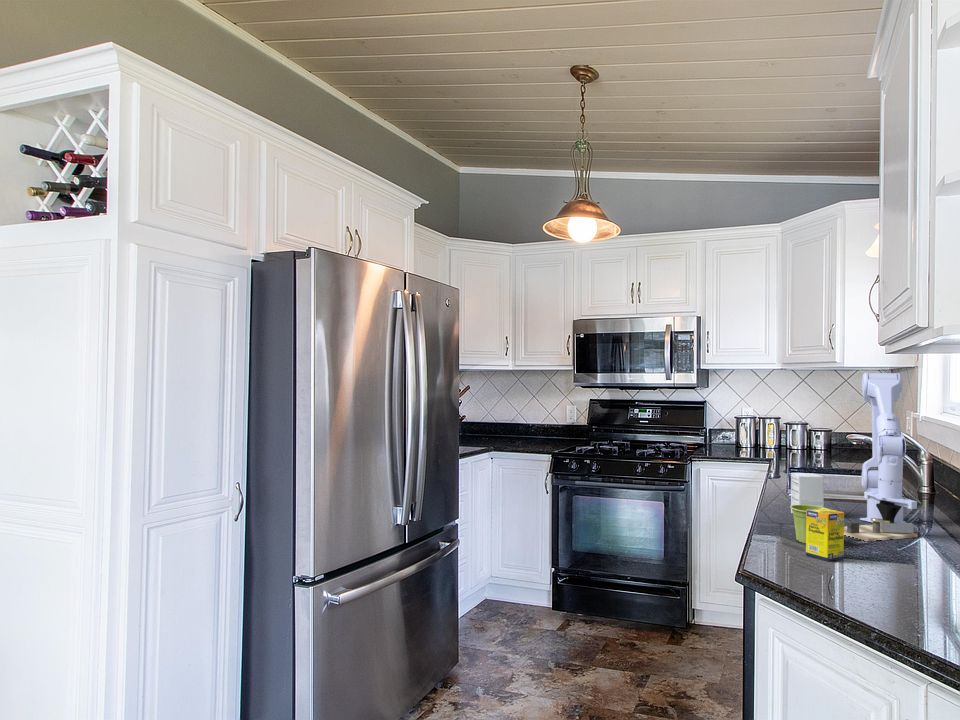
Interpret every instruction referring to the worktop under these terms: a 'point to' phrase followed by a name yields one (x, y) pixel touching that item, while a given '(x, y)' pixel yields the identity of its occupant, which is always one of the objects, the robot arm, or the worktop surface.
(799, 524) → the plant pot
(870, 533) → the jamb board
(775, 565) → the worktop surface
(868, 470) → the robot arm
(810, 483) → the supplement box
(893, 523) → the lock bar
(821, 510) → the supplement box
